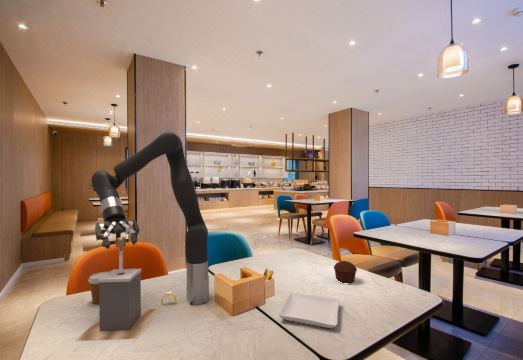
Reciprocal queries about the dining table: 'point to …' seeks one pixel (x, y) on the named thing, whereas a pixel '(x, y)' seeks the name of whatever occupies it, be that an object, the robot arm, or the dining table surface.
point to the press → (119, 299)
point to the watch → (168, 295)
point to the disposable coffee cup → (95, 286)
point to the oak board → (133, 333)
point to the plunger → (121, 252)
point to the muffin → (345, 271)
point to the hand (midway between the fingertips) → (121, 245)
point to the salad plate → (311, 310)
